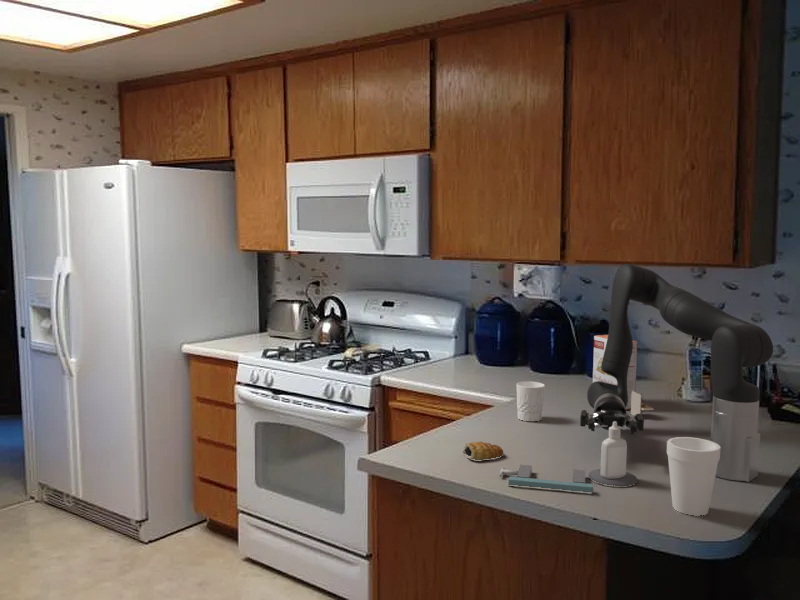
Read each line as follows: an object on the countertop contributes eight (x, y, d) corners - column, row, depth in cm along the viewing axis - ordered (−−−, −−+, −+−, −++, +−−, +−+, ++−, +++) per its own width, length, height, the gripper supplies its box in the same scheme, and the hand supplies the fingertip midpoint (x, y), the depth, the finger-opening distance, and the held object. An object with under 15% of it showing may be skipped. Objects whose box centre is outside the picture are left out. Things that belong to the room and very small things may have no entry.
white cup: (511, 420, 205) (512, 385, 204) (520, 414, 211) (521, 380, 210) (539, 424, 201) (540, 388, 200) (547, 417, 208) (548, 383, 207)
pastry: (495, 451, 176) (495, 436, 176) (509, 460, 170) (509, 444, 170) (460, 455, 173) (460, 440, 173) (473, 464, 167) (473, 448, 166)
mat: (645, 479, 157) (645, 476, 157) (623, 491, 150) (623, 488, 150) (603, 468, 164) (603, 465, 164) (579, 479, 157) (580, 476, 157)
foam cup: (715, 504, 143) (718, 440, 142) (719, 522, 134) (722, 453, 133) (663, 498, 146) (666, 435, 145) (664, 515, 137) (667, 448, 136)
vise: (592, 477, 158) (592, 470, 158) (592, 494, 148) (592, 487, 148) (502, 469, 163) (502, 462, 163) (496, 485, 153) (496, 478, 152)
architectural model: (641, 415, 214) (642, 390, 213) (653, 421, 207) (654, 395, 206) (630, 415, 213) (631, 390, 212) (641, 421, 206) (642, 396, 206)
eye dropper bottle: (628, 480, 155) (630, 424, 154) (601, 479, 155) (603, 424, 154) (624, 473, 159) (626, 419, 158) (598, 472, 160) (599, 418, 158)
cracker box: (590, 400, 229) (593, 335, 227) (606, 399, 231) (609, 334, 229) (619, 411, 216) (621, 341, 214) (635, 409, 218) (638, 340, 216)
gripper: (580, 394, 181) (580, 410, 166) (640, 398, 178) (646, 414, 162) (579, 423, 182) (579, 442, 166) (639, 428, 179) (645, 447, 163)
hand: (612, 428), depth 164 cm, fingers open, 8 cm apart
